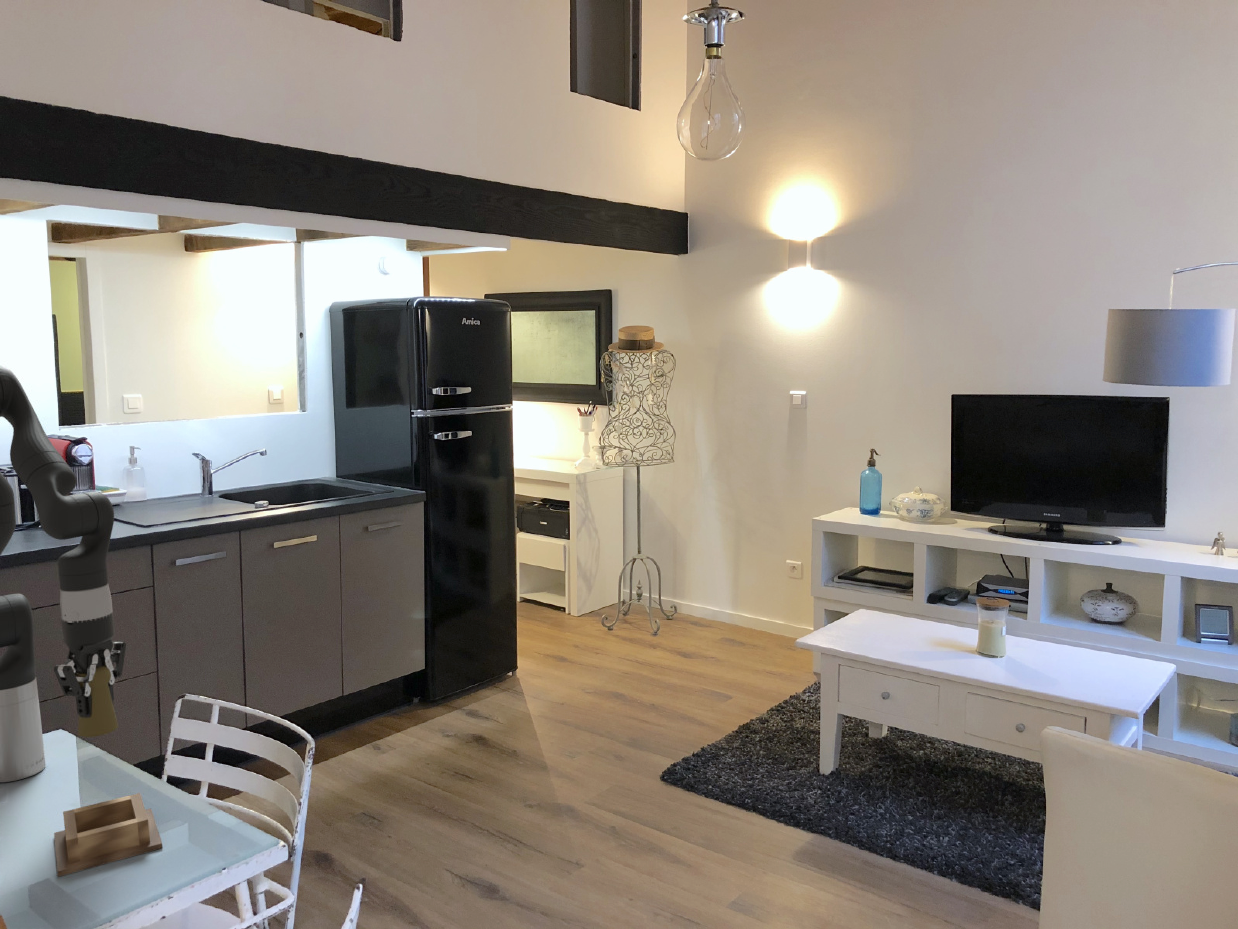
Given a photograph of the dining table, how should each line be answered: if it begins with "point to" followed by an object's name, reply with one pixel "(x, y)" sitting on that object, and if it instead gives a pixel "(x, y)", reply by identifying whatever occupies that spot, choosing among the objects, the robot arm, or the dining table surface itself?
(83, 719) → the cork
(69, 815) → the shaker caddy
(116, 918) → the dining table surface
